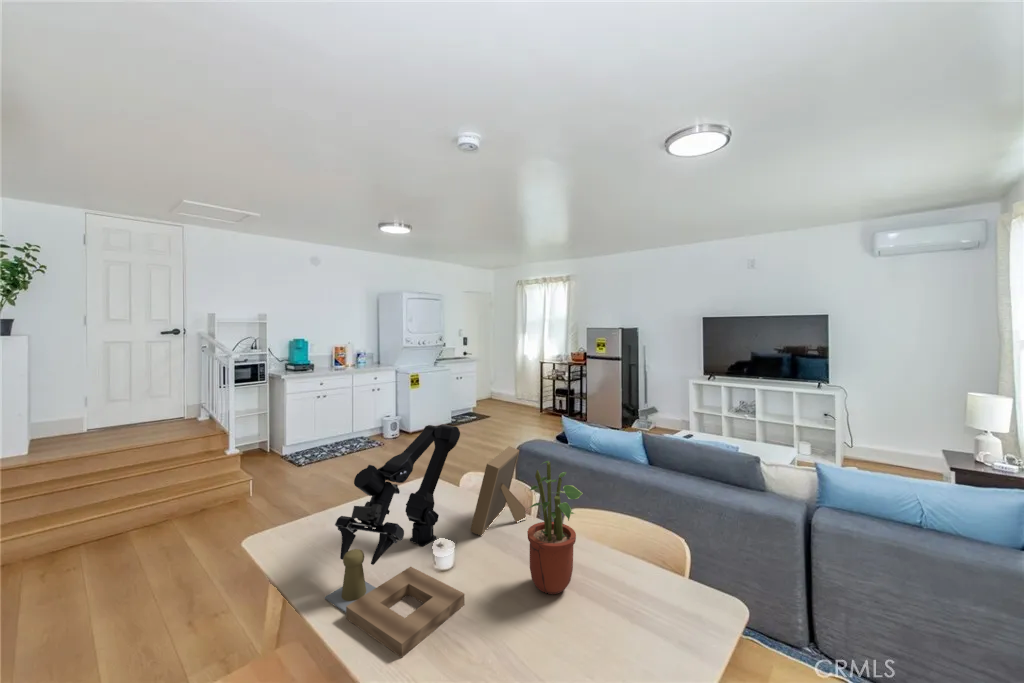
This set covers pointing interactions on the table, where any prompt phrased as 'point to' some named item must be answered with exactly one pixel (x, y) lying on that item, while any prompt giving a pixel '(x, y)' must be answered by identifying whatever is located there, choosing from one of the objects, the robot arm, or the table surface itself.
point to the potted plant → (552, 538)
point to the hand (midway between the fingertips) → (356, 561)
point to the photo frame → (497, 491)
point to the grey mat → (341, 603)
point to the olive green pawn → (353, 575)
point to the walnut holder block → (415, 627)
